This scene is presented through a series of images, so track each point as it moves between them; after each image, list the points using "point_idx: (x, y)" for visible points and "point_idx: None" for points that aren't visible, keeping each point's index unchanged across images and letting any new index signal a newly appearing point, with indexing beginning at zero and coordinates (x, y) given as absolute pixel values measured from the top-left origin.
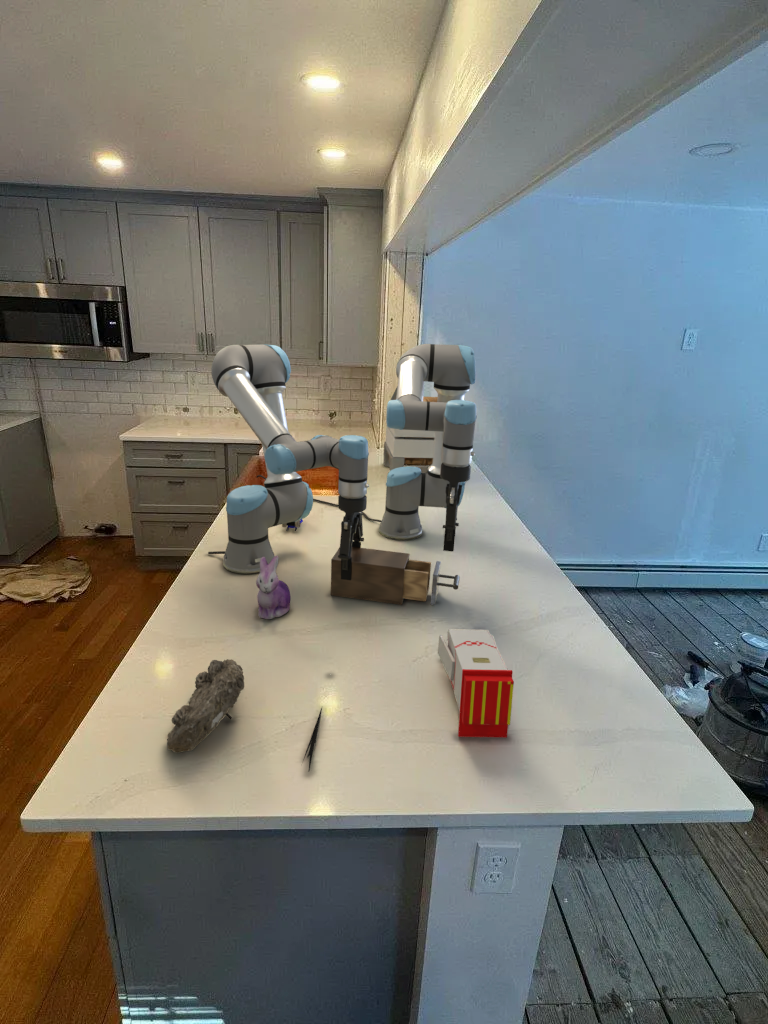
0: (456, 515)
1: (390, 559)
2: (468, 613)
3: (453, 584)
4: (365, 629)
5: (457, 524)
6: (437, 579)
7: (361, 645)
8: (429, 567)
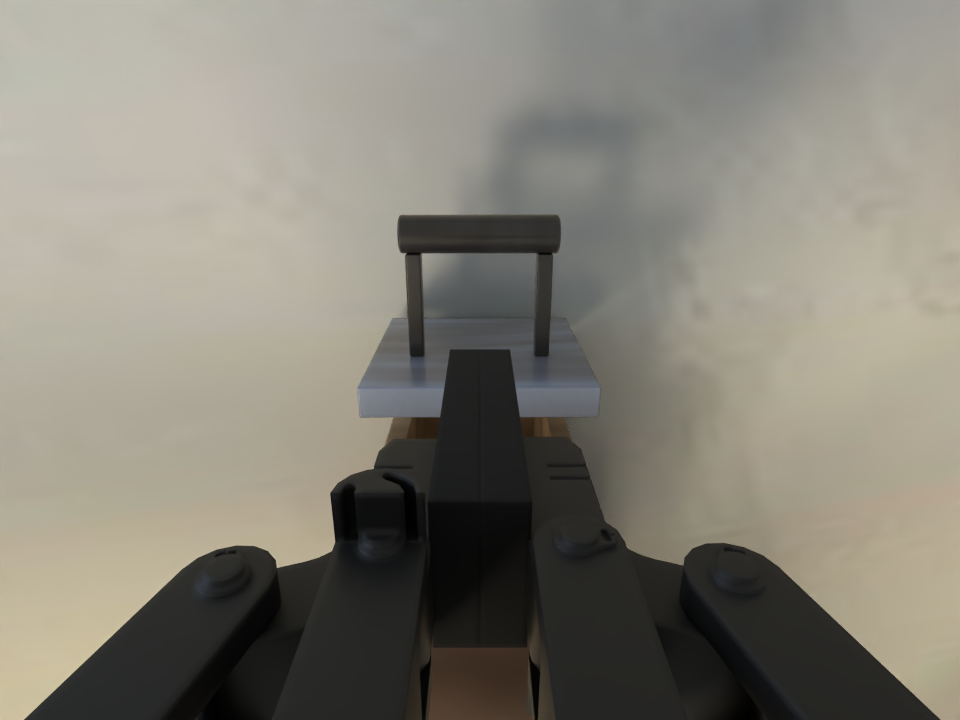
0: (330, 691)
1: (491, 687)
2: (579, 124)
3: (540, 252)
4: (797, 557)
5: (417, 509)
6: (561, 368)
7: (916, 549)
8: (408, 438)
